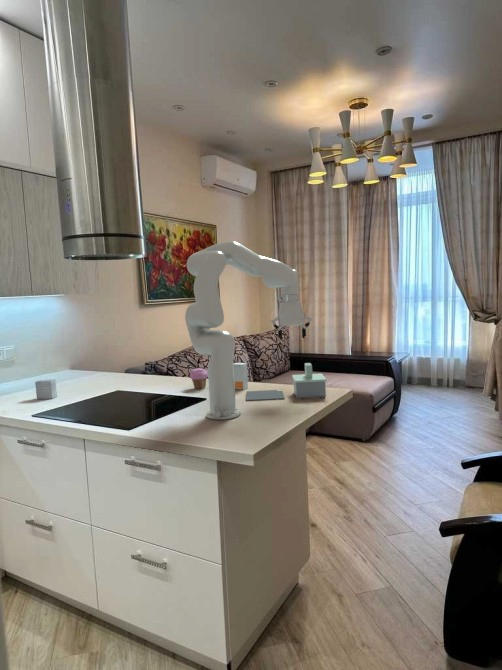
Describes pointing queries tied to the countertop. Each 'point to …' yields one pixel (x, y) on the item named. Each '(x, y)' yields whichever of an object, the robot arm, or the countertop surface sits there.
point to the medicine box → (46, 389)
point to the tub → (309, 389)
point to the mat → (264, 395)
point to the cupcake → (199, 378)
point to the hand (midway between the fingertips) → (292, 338)
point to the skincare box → (240, 375)
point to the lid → (308, 376)
